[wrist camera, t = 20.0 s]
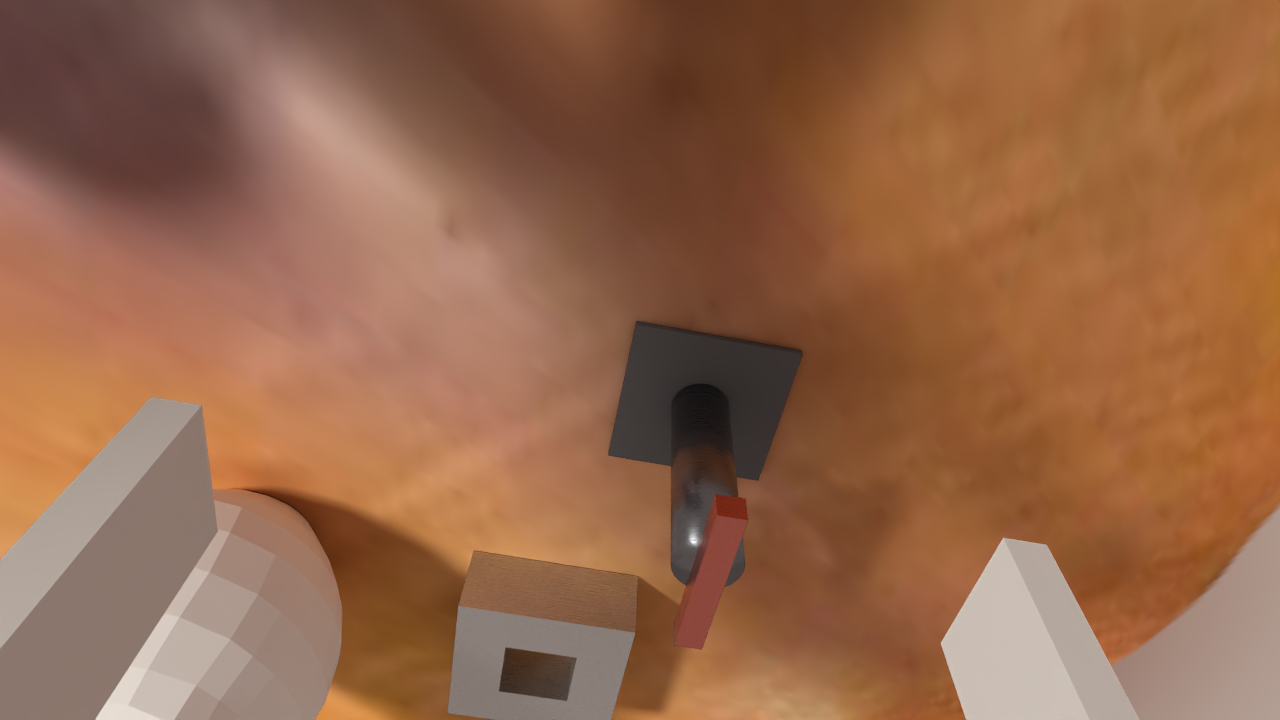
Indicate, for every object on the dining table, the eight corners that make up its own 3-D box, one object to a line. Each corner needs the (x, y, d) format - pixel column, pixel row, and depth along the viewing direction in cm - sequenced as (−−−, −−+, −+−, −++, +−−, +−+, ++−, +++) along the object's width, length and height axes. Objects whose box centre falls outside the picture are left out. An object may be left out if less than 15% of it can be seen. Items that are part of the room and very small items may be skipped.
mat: (608, 451, 53) (608, 455, 53) (636, 321, 48) (636, 324, 48) (757, 476, 54) (758, 480, 54) (801, 350, 49) (802, 354, 48)
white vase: (244, 389, 52) (-51, 769, 31) (431, 568, 60) (301, 965, 39) (57, 501, 57) (-298, 885, 36) (252, 650, 66) (53, 1035, 44)
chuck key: (687, 341, 48) (692, 511, 36) (746, 352, 48) (771, 524, 36) (657, 457, 53) (653, 642, 41) (711, 467, 53) (723, 652, 41)
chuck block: (462, 656, 65) (447, 713, 61) (473, 550, 59) (458, 605, 54) (610, 678, 66) (606, 735, 62) (637, 576, 60) (635, 632, 55)
